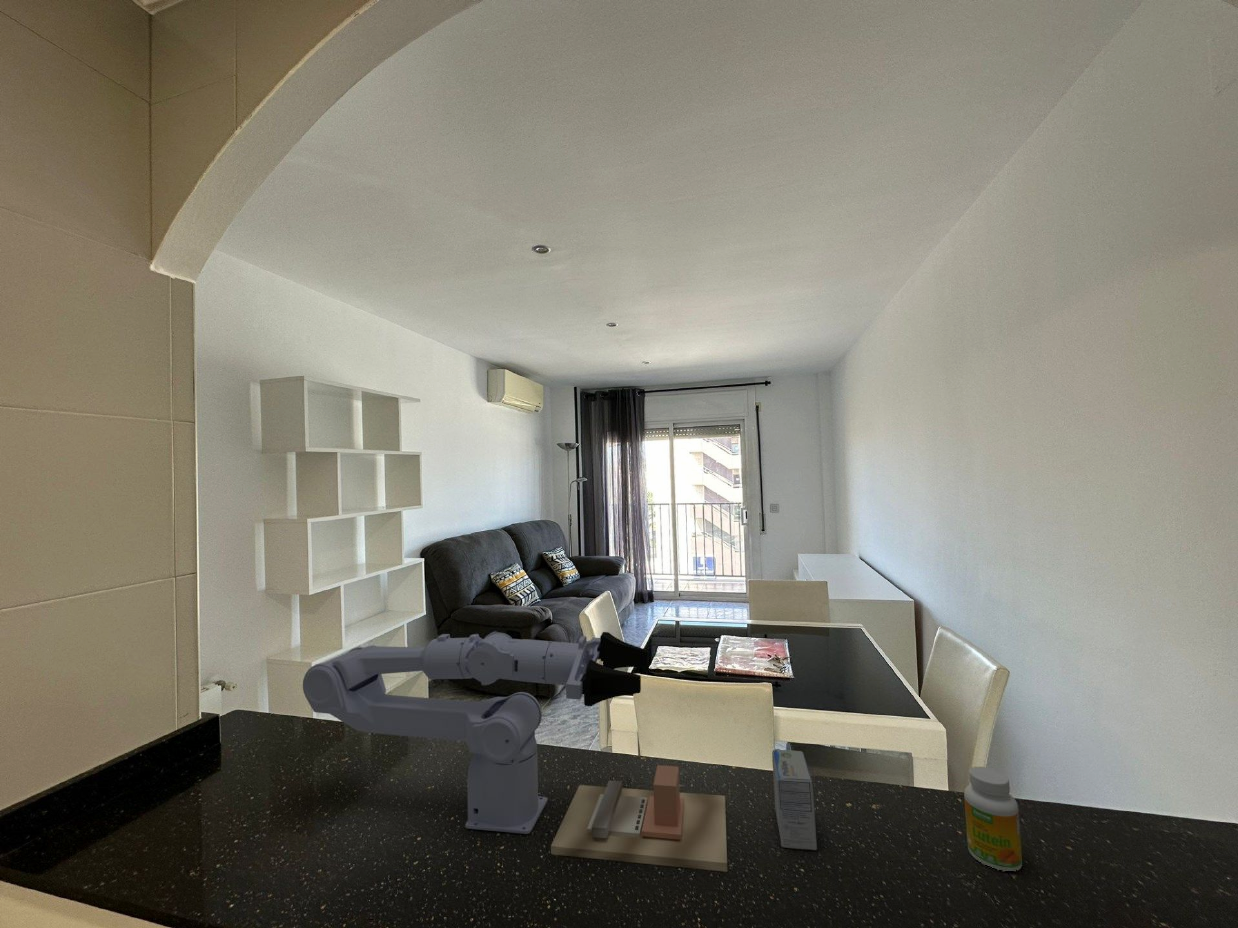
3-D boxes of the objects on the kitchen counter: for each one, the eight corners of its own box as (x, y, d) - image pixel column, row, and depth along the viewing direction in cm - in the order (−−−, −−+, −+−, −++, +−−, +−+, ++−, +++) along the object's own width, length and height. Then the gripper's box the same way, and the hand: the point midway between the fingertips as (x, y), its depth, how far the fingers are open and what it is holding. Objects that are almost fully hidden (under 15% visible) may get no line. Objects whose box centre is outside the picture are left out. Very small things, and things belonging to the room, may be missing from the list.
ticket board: (551, 853, 65) (550, 831, 66) (579, 791, 79) (579, 772, 79) (727, 871, 61) (726, 847, 62) (725, 802, 75) (724, 782, 75)
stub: (641, 835, 66) (640, 790, 67) (649, 799, 74) (648, 759, 75) (680, 839, 65) (679, 792, 66) (684, 802, 73) (682, 761, 74)
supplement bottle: (967, 862, 62) (961, 778, 62) (967, 837, 66) (962, 759, 67) (1024, 880, 59) (1017, 791, 59) (1020, 852, 63) (1014, 770, 64)
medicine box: (817, 852, 64) (813, 780, 65) (780, 848, 65) (776, 777, 66) (807, 814, 72) (804, 750, 73) (774, 811, 73) (771, 748, 73)
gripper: (532, 658, 67) (636, 667, 64) (565, 616, 81) (650, 622, 78) (533, 710, 67) (636, 721, 65) (565, 659, 81) (650, 666, 79)
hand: (644, 670), depth 71 cm, fingers open, 7 cm apart
